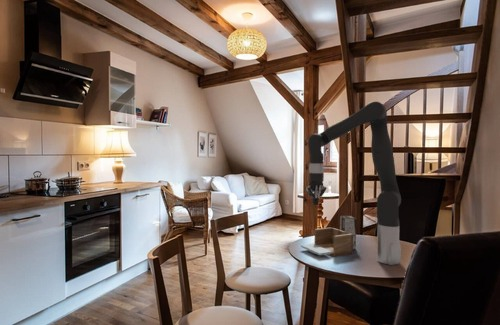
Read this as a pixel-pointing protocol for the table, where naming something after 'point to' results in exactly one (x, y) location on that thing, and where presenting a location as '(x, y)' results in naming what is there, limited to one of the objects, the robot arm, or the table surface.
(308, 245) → the panel
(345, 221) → the coffee box
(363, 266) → the table surface
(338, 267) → the table surface
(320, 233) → the pickup bed
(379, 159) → the robot arm
